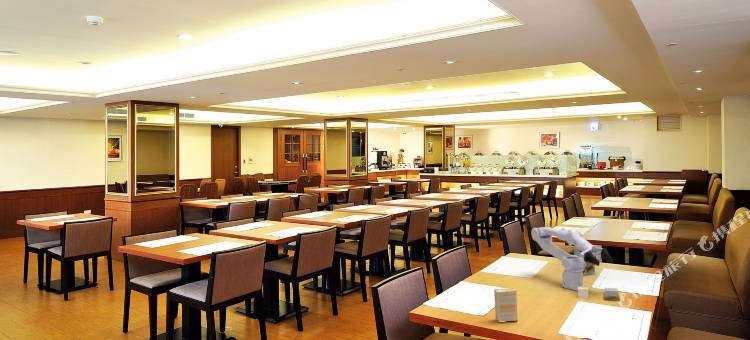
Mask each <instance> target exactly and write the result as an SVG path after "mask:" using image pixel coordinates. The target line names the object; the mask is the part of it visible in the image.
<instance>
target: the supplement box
mask: <svg viewBox="0 0 750 340" xmlns="http://www.w3.org/2000/svg"><path fill="white" fill-rule="evenodd" d="M493 290H494V291H493V294H494V313H495V314H494V315H495V320H496V319H497V320H498V321H518V304H517V303H518V302H517V301H518V300H517V299H518V298H517V297H518V296H517V290H516V289H514V288H512V287H511V288H494V289H493ZM497 320H496V321H497ZM498 321H497V322H498Z"/></svg>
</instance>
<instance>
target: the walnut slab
mask: <svg viewBox="0 0 750 340" xmlns="http://www.w3.org/2000/svg"><path fill="white" fill-rule="evenodd" d="M618 296H619V297H614V296H605V292H603V299H604V302H605V301H608V302H621V296H620V293H619V292H618Z"/></svg>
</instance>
